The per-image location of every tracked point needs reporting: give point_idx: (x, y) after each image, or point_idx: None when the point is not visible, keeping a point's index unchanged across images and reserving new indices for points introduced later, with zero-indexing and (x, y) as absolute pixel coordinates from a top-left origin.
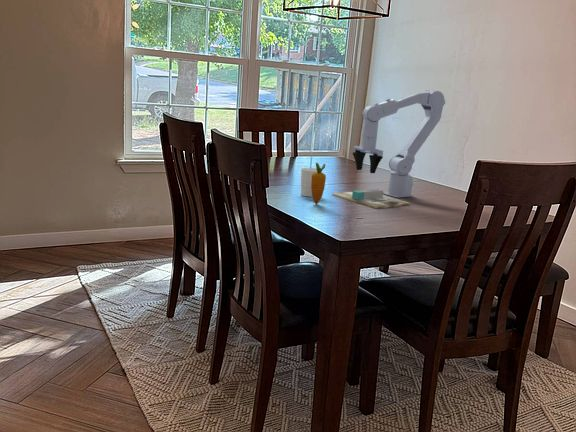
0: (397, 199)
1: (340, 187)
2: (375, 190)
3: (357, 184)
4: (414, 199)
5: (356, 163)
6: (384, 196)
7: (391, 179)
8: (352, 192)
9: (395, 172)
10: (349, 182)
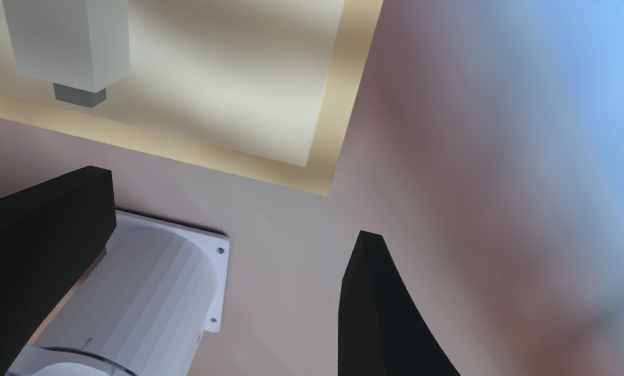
0: (3, 118)
1: (565, 195)
2: (35, 5)
3: (505, 355)
4: None
5: (394, 295)
6: (113, 129)
7: (120, 314)
8: (333, 10)
9: (43, 368)
10: (574, 369)
